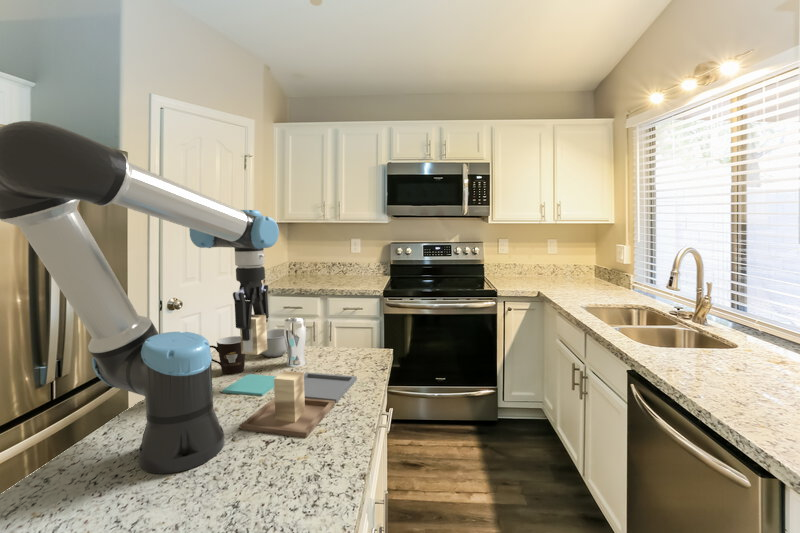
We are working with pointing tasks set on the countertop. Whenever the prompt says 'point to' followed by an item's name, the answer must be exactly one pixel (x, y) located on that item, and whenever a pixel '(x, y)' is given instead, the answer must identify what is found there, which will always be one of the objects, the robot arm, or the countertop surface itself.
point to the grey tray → (326, 386)
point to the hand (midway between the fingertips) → (254, 347)
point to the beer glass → (295, 341)
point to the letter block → (257, 335)
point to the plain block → (289, 396)
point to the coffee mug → (230, 355)
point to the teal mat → (251, 385)
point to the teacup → (275, 343)
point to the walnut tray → (300, 428)
